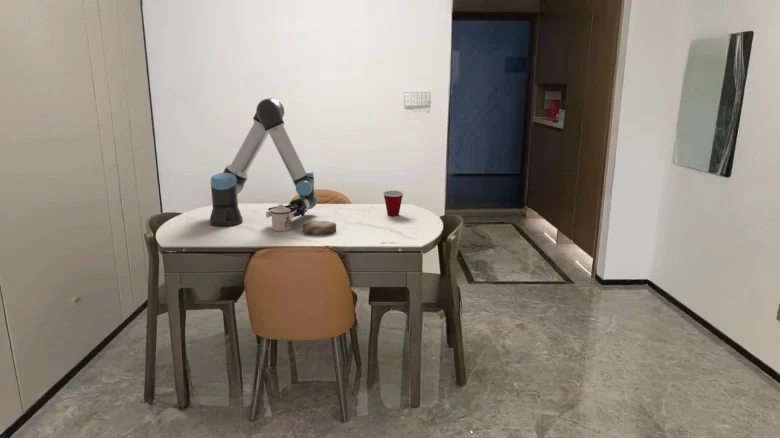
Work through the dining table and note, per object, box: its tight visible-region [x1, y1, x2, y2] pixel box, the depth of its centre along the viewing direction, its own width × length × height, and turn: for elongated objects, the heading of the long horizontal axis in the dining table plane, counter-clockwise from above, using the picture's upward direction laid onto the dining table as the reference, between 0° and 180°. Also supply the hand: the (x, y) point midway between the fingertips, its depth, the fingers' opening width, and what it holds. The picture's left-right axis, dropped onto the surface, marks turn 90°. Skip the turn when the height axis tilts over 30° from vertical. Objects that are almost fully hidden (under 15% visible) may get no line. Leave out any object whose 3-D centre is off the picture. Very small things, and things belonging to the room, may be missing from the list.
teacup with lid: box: [271, 203, 292, 232], centre depth 250 cm, size 12×9×12 cm
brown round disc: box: [302, 220, 337, 236], centre depth 246 cm, size 15×15×3 cm
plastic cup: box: [382, 190, 405, 217], centre depth 277 cm, size 11×11×12 cm
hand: (278, 215), depth 246 cm, fingers open, 11 cm apart
